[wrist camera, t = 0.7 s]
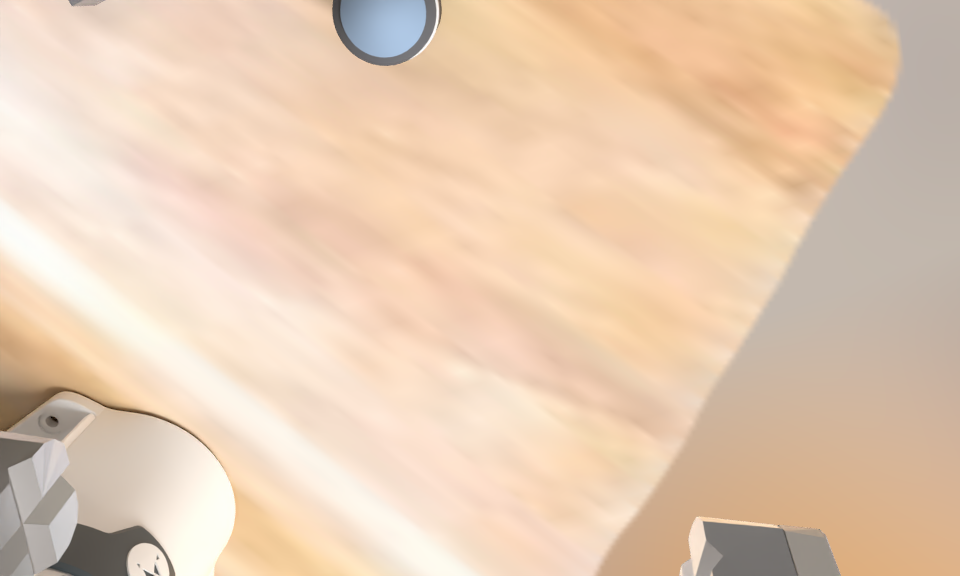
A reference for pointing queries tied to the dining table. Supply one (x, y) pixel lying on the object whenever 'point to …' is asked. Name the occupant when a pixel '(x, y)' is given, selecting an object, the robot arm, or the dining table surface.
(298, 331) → the dining table surface
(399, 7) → the lens
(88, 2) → the dock
